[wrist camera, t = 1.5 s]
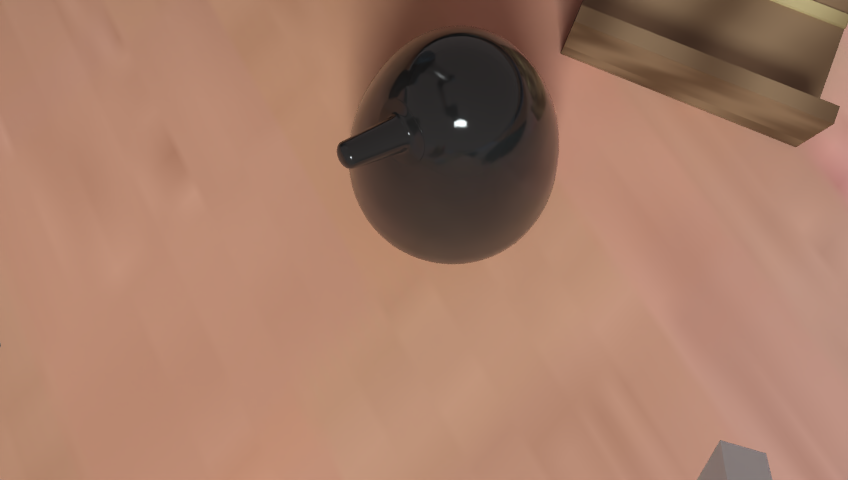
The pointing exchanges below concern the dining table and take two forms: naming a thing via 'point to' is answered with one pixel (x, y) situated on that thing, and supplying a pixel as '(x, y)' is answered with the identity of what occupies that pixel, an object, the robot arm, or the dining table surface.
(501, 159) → the pump dispenser
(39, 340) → the dining table surface
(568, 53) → the track
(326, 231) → the dining table surface
